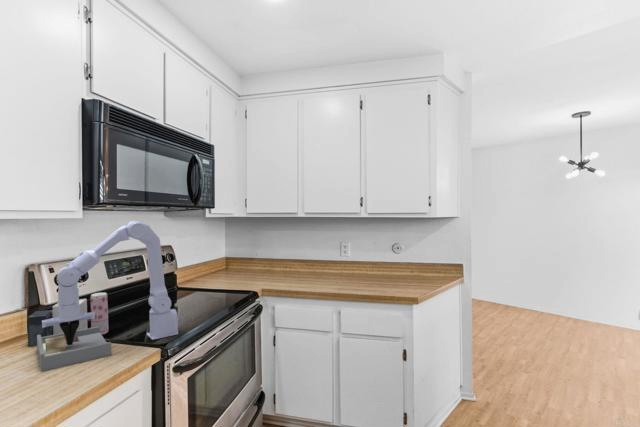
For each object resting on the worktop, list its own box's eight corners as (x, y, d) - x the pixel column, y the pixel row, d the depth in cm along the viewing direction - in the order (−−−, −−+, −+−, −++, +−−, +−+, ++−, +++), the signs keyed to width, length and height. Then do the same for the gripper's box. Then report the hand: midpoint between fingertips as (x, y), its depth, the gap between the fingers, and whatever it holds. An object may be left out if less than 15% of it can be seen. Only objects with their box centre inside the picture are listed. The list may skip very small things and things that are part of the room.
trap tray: (99, 337, 140) (99, 323, 140) (111, 354, 123) (111, 339, 123) (37, 349, 129) (36, 335, 128) (41, 371, 111) (40, 354, 111)
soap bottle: (53, 341, 136) (51, 289, 135) (62, 333, 144) (60, 284, 144) (80, 339, 138) (78, 287, 138) (87, 331, 147) (86, 282, 146)
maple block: (64, 345, 126) (63, 335, 126) (65, 350, 122) (65, 339, 122) (45, 349, 123) (45, 339, 123) (46, 354, 119) (46, 343, 119)
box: (47, 344, 133) (46, 315, 133) (27, 347, 131) (26, 316, 131) (54, 337, 140) (53, 309, 140) (35, 339, 138) (35, 311, 138)
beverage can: (101, 335, 141) (99, 296, 141) (87, 335, 142) (86, 295, 142) (111, 330, 147) (110, 292, 147) (99, 330, 148) (98, 292, 148)
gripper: (92, 297, 133) (93, 335, 133) (40, 304, 123) (42, 346, 124) (95, 301, 127) (96, 341, 127) (42, 309, 118) (43, 352, 118)
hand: (69, 344), depth 125 cm, fingers closed
